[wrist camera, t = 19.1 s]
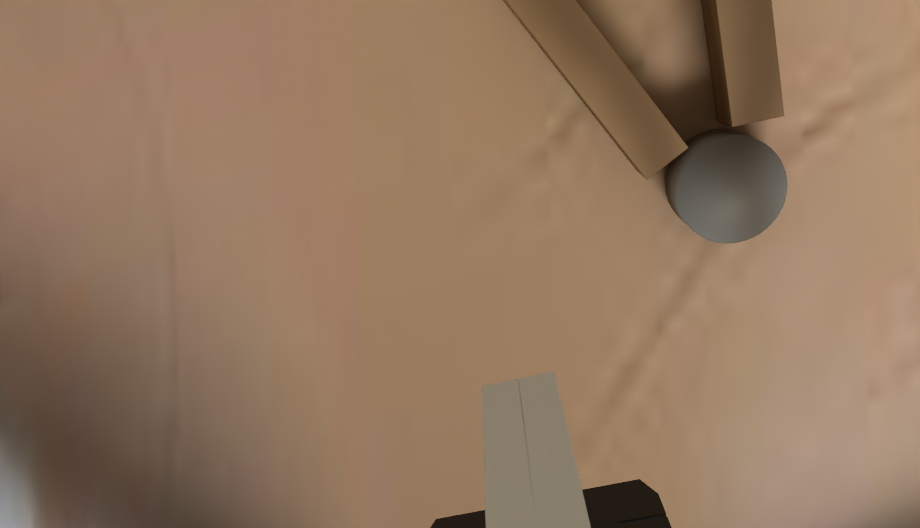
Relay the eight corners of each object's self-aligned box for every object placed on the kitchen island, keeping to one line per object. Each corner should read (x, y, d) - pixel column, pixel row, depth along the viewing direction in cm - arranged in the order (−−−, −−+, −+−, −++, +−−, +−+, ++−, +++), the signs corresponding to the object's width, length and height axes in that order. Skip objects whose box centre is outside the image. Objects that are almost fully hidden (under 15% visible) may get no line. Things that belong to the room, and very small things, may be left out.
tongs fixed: (673, 240, 43) (685, 253, 41) (610, -170, 38) (619, -183, 35) (778, 218, 43) (797, 230, 40) (729, -199, 37) (747, -214, 35)
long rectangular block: (637, 170, 42) (647, 179, 40) (458, -57, 39) (458, -61, 37) (676, 140, 42) (688, 147, 39) (498, -92, 39) (500, -99, 36)
